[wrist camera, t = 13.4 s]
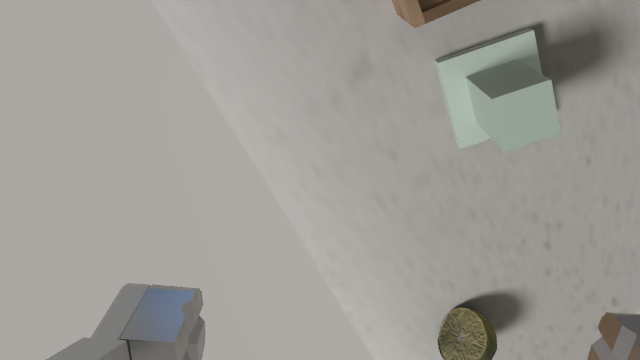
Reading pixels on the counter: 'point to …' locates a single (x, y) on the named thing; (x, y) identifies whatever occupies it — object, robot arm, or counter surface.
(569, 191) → the counter surface
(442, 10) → the walnut box
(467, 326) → the lime
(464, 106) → the sage lid
